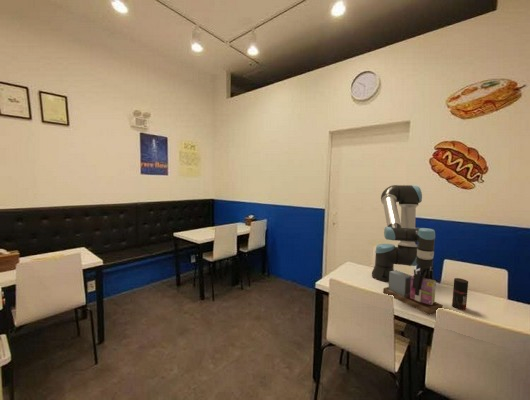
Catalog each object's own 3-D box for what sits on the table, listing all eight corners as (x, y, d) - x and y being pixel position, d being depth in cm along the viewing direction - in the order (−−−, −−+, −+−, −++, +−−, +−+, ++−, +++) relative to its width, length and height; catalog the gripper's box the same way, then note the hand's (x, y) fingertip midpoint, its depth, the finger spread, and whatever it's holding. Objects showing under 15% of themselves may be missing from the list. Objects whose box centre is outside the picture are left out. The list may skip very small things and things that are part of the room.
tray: (383, 292, 148) (383, 288, 148) (395, 289, 153) (395, 285, 153) (429, 315, 124) (430, 309, 124) (442, 310, 129) (442, 305, 129)
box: (409, 298, 135) (410, 277, 134) (412, 295, 139) (414, 274, 138) (431, 305, 127) (433, 283, 126) (434, 302, 131) (436, 280, 130)
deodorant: (461, 311, 129) (464, 283, 127) (449, 305, 134) (451, 279, 133) (468, 309, 131) (470, 281, 130) (456, 303, 136) (458, 277, 135)
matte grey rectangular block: (388, 291, 148) (389, 271, 147) (395, 289, 151) (396, 270, 150) (405, 298, 139) (406, 278, 138) (411, 296, 141) (413, 276, 140)
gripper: (420, 262, 124) (417, 306, 126) (443, 257, 132) (440, 298, 134) (406, 257, 130) (403, 299, 132) (428, 253, 139) (425, 292, 141)
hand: (421, 299), depth 133 cm, fingers closed on box, 7 cm apart
